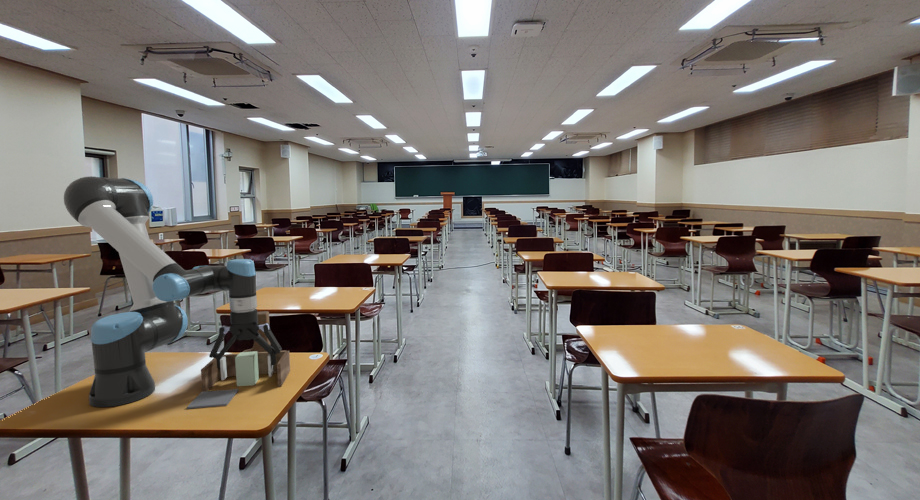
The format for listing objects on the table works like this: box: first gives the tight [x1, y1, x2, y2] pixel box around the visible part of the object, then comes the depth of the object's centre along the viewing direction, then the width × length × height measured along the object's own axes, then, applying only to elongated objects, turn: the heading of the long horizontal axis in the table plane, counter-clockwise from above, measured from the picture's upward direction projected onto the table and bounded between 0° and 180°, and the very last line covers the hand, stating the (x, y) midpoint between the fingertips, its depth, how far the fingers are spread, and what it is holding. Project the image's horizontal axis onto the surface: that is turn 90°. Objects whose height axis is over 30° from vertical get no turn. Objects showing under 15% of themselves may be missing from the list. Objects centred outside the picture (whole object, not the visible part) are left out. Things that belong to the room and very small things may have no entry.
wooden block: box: [242, 310, 272, 352], centre depth 150 cm, size 9×4×18 cm, turn 103°
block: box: [235, 351, 260, 387], centre depth 134 cm, size 5×5×9 cm
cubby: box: [200, 350, 291, 392], centre depth 135 cm, size 22×13×7 cm, turn 100°
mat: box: [186, 388, 239, 410], centre depth 123 cm, size 10×10×1 cm
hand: (247, 376), depth 134 cm, fingers open, 13 cm apart
